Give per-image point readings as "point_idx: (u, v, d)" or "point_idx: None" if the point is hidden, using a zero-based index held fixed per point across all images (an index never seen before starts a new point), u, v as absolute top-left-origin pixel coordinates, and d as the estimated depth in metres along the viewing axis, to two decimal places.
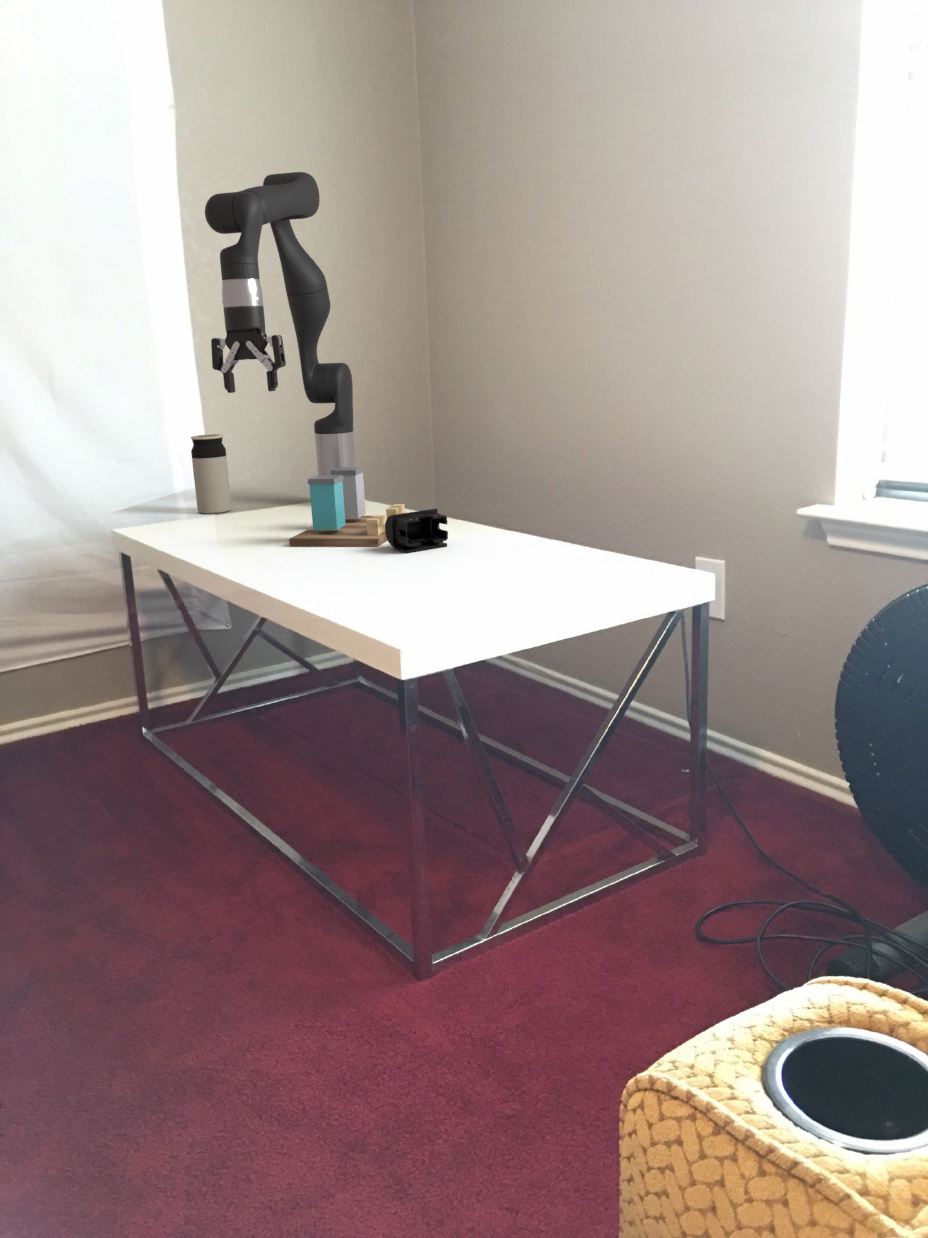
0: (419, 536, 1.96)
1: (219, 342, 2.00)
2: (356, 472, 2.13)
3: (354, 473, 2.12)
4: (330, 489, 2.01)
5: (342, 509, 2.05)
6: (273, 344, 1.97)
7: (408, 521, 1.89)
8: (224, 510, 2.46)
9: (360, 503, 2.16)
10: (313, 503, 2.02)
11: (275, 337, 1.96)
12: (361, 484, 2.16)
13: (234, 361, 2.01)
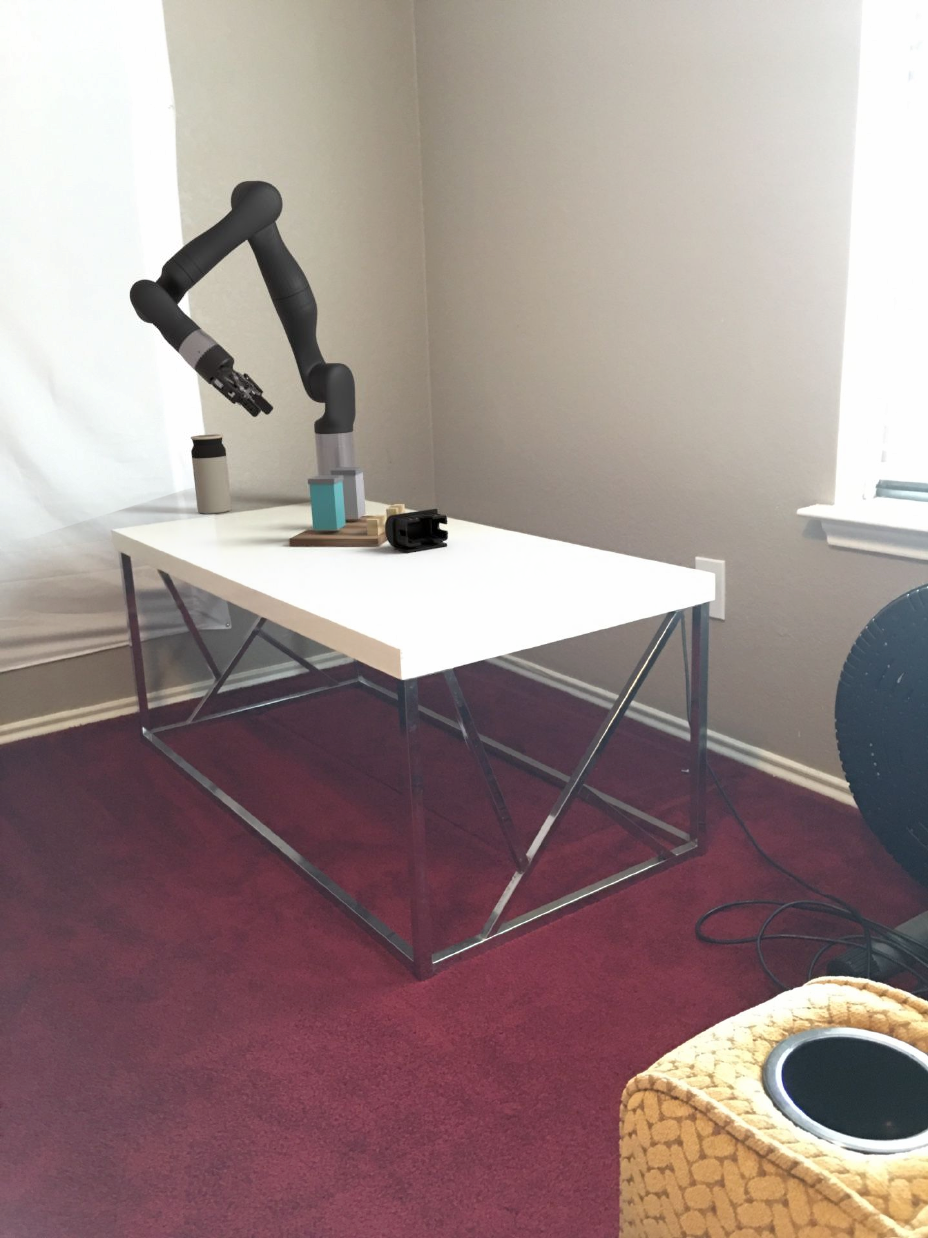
0: (419, 536, 1.96)
1: None
2: (356, 472, 2.13)
3: (354, 473, 2.12)
4: (330, 489, 2.01)
5: (342, 509, 2.05)
6: None
7: (408, 521, 1.89)
8: (224, 510, 2.46)
9: (360, 503, 2.16)
10: (313, 503, 2.02)
11: None
12: (361, 484, 2.16)
13: (247, 392, 2.20)
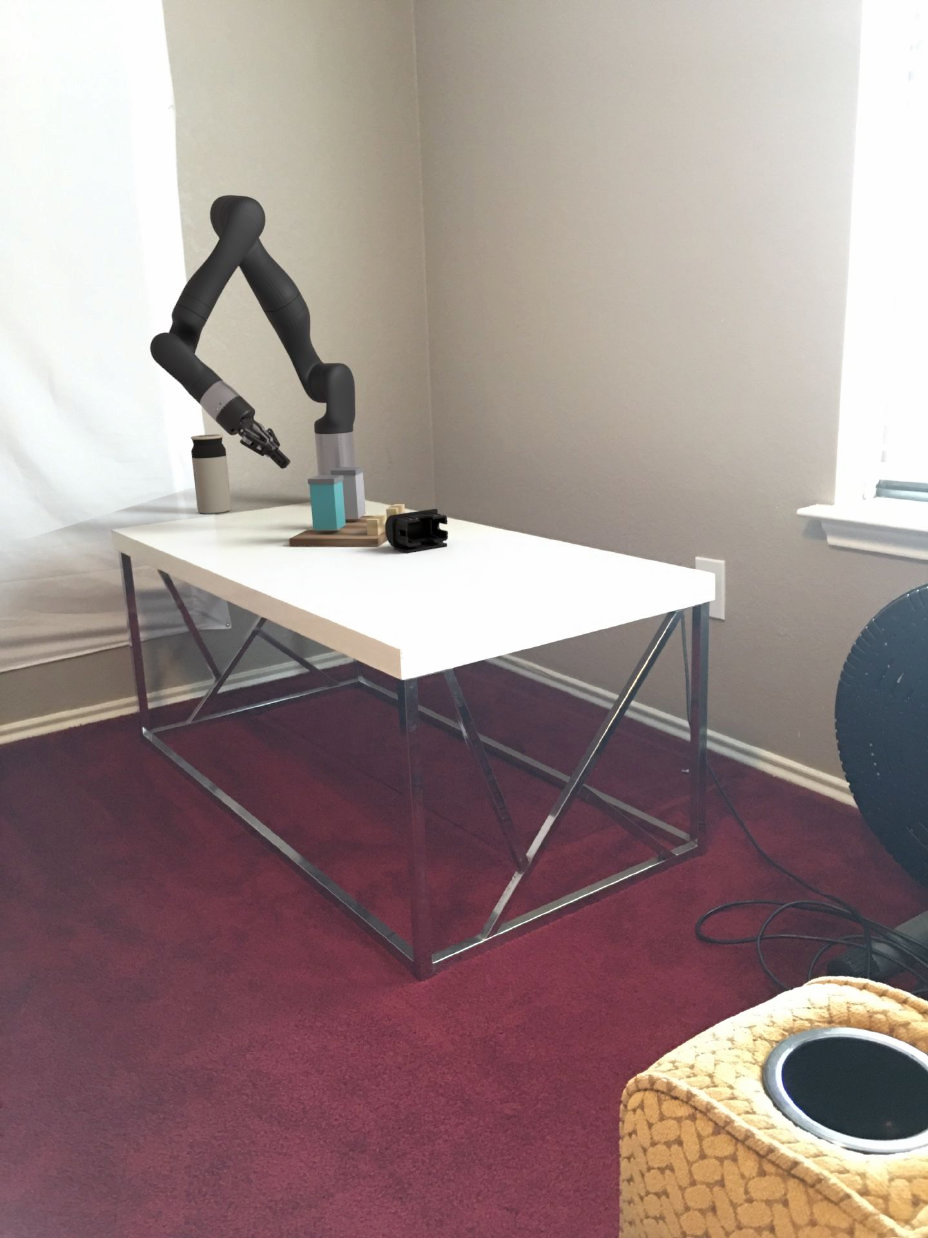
0: (419, 536, 1.96)
1: None
2: (356, 472, 2.13)
3: (354, 473, 2.12)
4: (330, 489, 2.01)
5: (342, 509, 2.05)
6: None
7: (408, 521, 1.89)
8: (224, 510, 2.46)
9: (360, 503, 2.16)
10: (313, 503, 2.02)
11: (241, 443, 2.13)
12: (361, 484, 2.16)
13: None
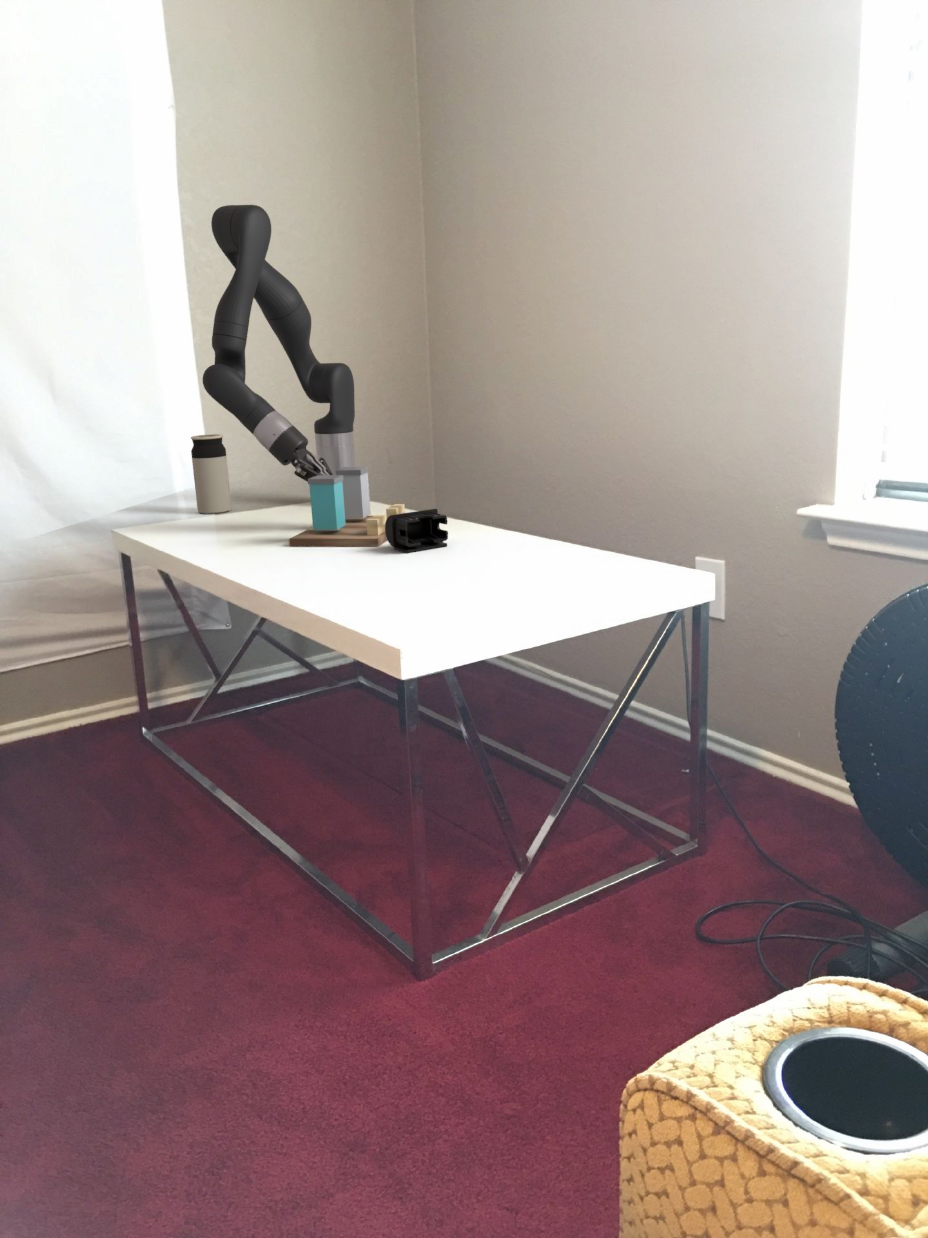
0: (419, 536, 1.96)
1: None
2: (361, 472, 2.12)
3: (359, 473, 2.12)
4: (330, 489, 2.01)
5: (342, 509, 2.05)
6: None
7: (408, 521, 1.89)
8: (224, 510, 2.46)
9: (365, 503, 2.16)
10: (313, 503, 2.02)
11: (296, 474, 2.12)
12: (366, 484, 2.16)
13: None
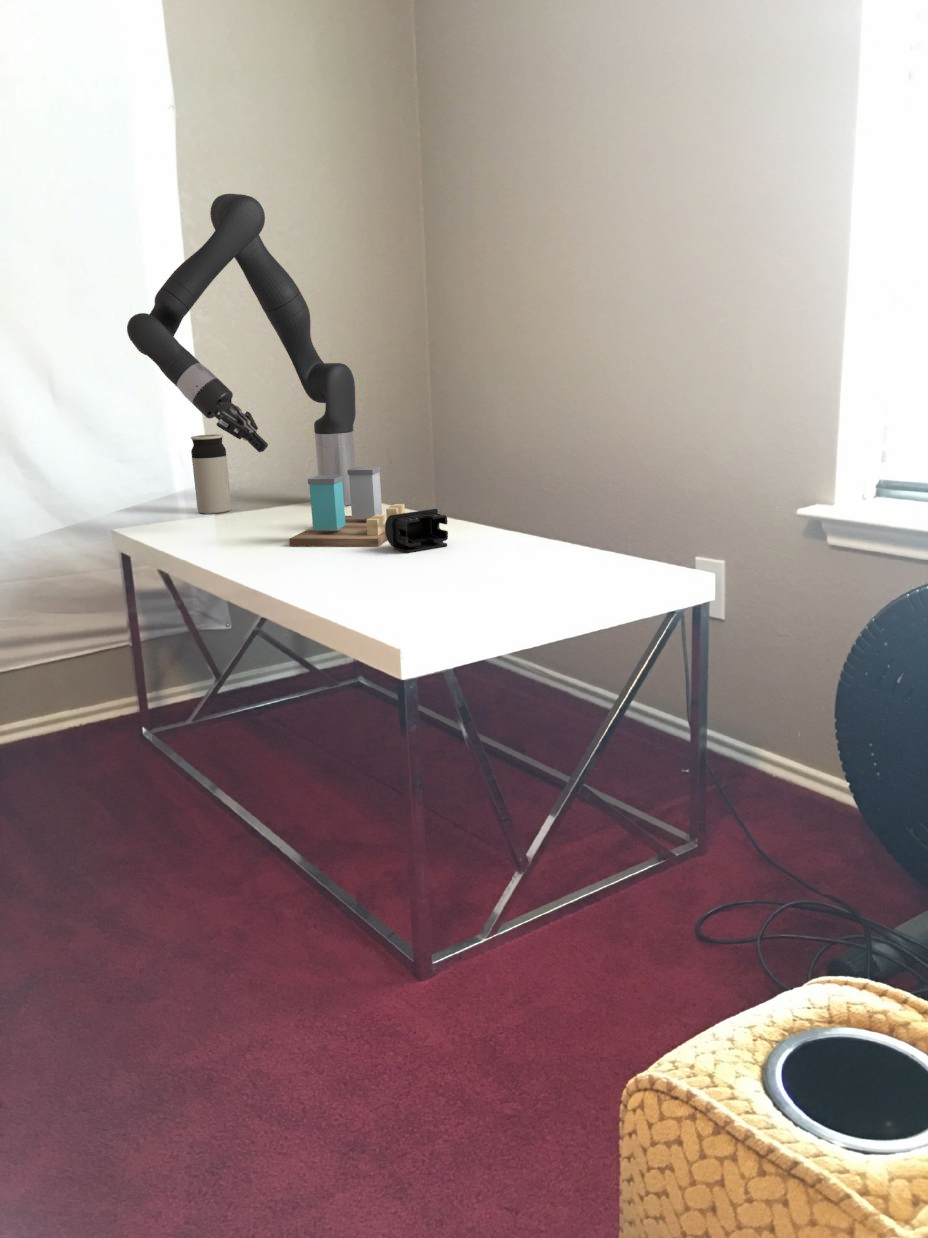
0: (419, 536, 1.96)
1: None
2: (373, 472, 2.12)
3: (371, 473, 2.11)
4: (330, 489, 2.01)
5: (342, 509, 2.05)
6: None
7: (408, 521, 1.89)
8: (224, 510, 2.46)
9: (377, 503, 2.15)
10: (313, 503, 2.02)
11: (218, 426, 2.10)
12: (378, 484, 2.16)
13: None
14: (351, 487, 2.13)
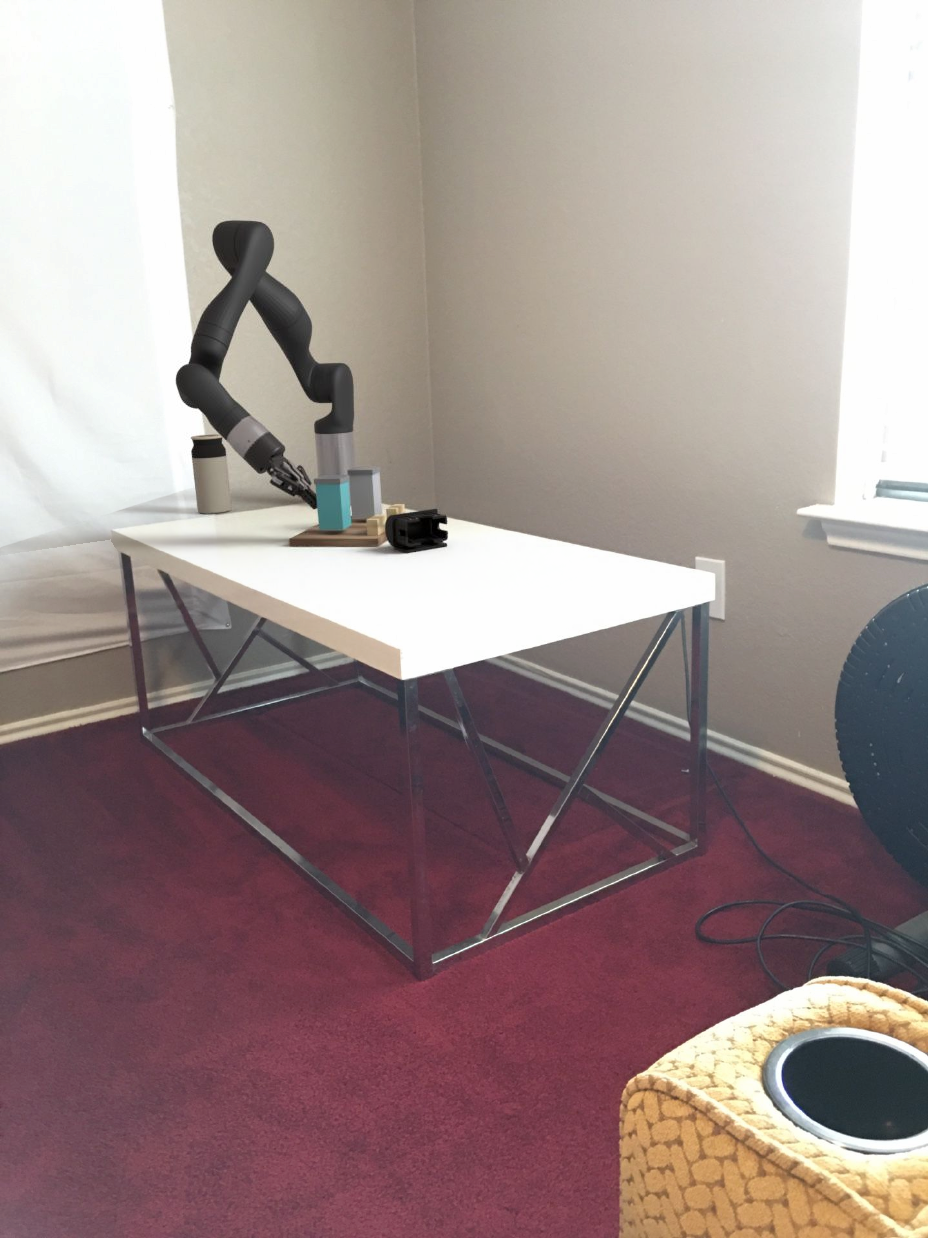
0: (419, 536, 1.96)
1: None
2: (373, 472, 2.12)
3: (371, 473, 2.11)
4: (336, 489, 2.00)
5: (348, 509, 2.05)
6: None
7: (408, 521, 1.89)
8: (224, 510, 2.46)
9: (377, 503, 2.15)
10: (319, 503, 2.02)
11: (271, 483, 1.99)
12: (378, 484, 2.16)
13: None
14: (351, 487, 2.13)
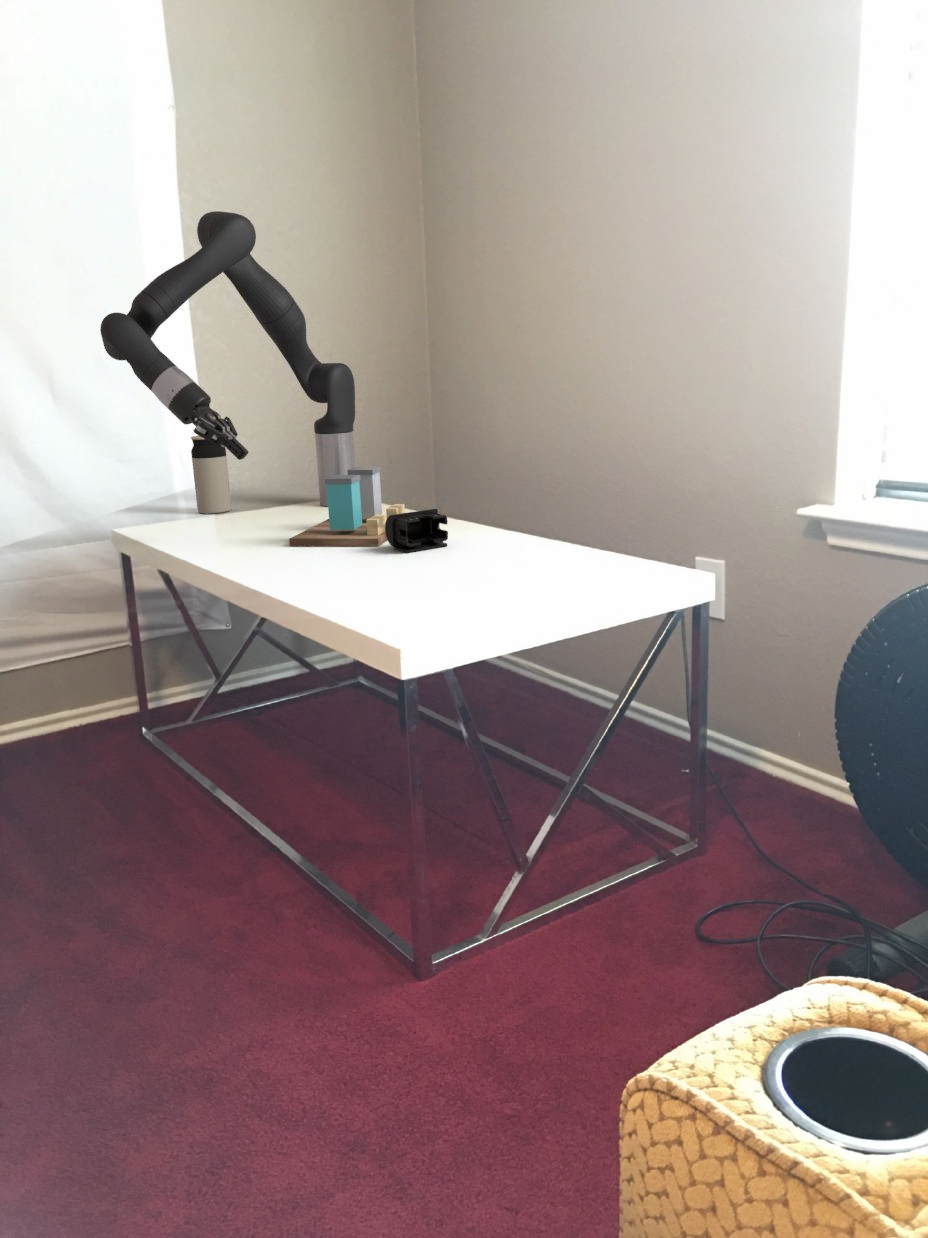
0: (419, 536, 1.96)
1: None
2: (373, 472, 2.12)
3: (371, 473, 2.11)
4: (347, 489, 2.00)
5: (359, 509, 2.05)
6: None
7: (408, 521, 1.89)
8: (224, 510, 2.46)
9: (377, 503, 2.15)
10: (330, 503, 2.01)
11: (195, 432, 2.00)
12: (378, 484, 2.16)
13: None
14: None
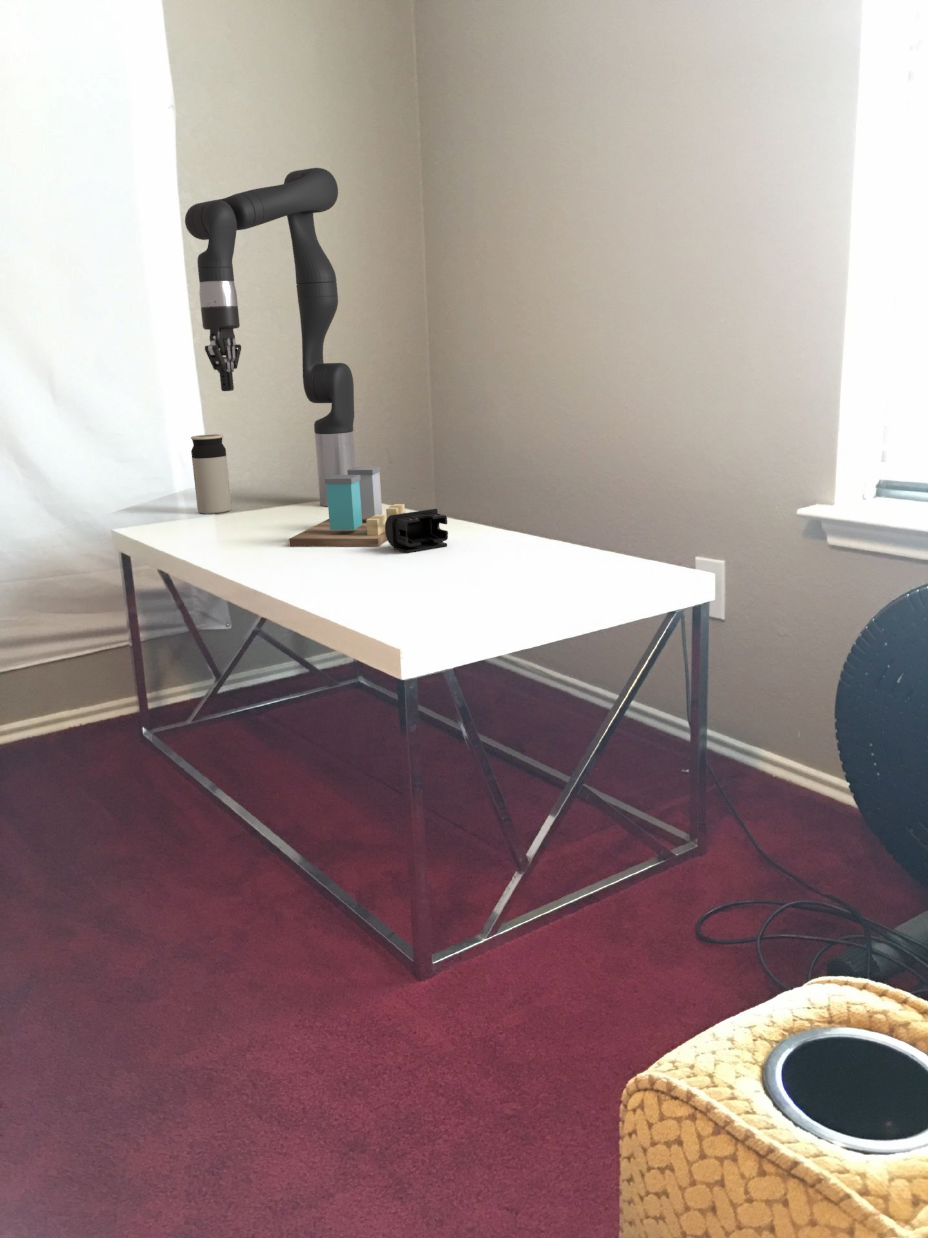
0: (419, 536, 1.96)
1: None
2: (373, 472, 2.12)
3: (371, 473, 2.11)
4: (347, 489, 2.00)
5: (359, 509, 2.05)
6: None
7: (408, 521, 1.89)
8: (224, 510, 2.46)
9: (377, 503, 2.15)
10: (330, 503, 2.01)
11: (205, 348, 2.11)
12: (378, 484, 2.16)
13: None
14: None
